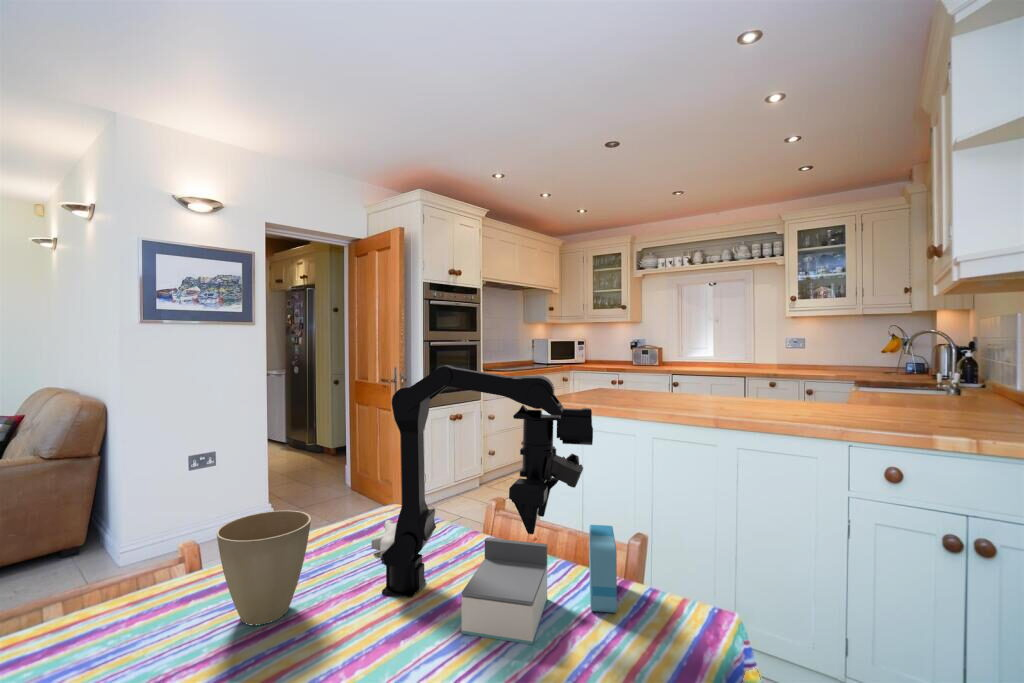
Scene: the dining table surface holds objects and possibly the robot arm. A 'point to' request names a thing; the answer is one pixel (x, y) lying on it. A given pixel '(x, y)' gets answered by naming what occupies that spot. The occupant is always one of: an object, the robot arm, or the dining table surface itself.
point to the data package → (602, 569)
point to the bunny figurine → (385, 537)
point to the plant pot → (263, 562)
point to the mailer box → (504, 617)
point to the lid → (509, 571)
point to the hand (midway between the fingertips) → (536, 524)
